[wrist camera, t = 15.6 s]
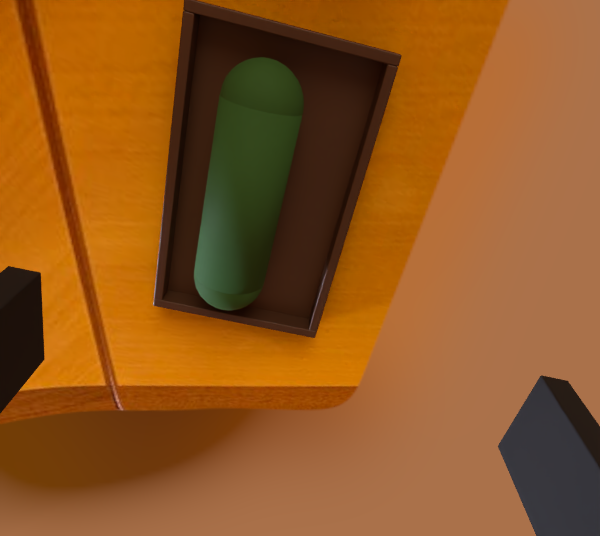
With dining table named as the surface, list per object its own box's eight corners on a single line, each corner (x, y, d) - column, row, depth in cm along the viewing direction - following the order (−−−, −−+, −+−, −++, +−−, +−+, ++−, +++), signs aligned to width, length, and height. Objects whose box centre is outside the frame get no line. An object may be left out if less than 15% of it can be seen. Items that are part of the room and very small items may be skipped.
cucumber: (251, 49, 27) (209, 45, 23) (324, 70, 26) (293, 69, 22) (212, 278, 34) (175, 306, 30) (268, 302, 33) (238, 333, 29)
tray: (192, -1, 25) (184, -3, 24) (395, 53, 27) (401, 55, 25) (160, 291, 34) (152, 305, 32) (314, 322, 35) (314, 338, 34)
